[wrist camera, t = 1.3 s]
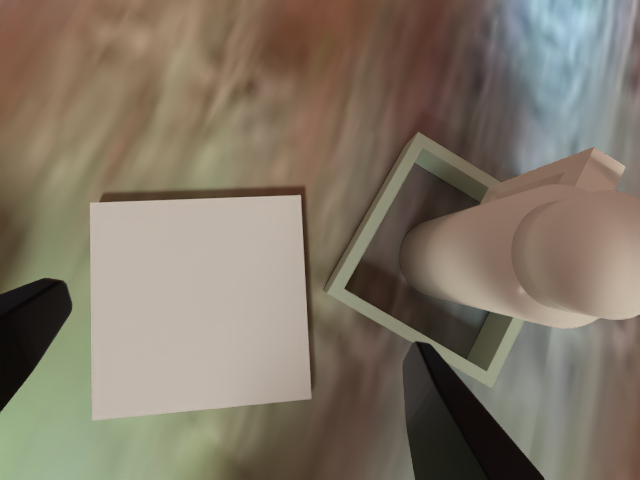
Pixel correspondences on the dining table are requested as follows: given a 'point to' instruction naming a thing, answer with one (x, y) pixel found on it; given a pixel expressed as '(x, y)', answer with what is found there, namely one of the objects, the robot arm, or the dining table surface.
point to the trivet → (197, 305)
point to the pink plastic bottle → (537, 247)
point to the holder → (424, 153)
